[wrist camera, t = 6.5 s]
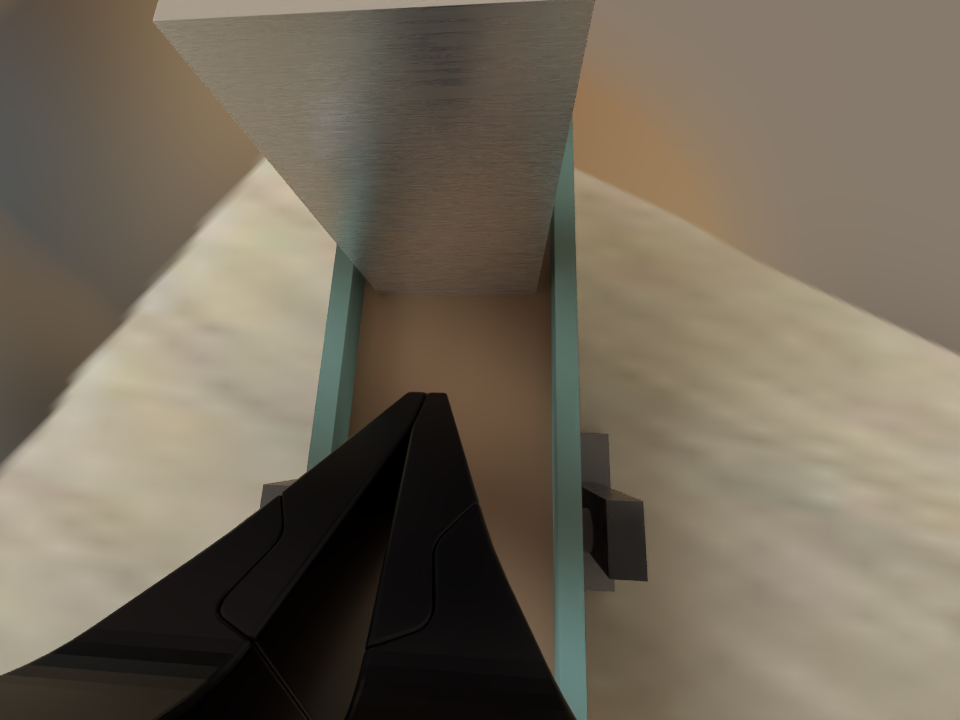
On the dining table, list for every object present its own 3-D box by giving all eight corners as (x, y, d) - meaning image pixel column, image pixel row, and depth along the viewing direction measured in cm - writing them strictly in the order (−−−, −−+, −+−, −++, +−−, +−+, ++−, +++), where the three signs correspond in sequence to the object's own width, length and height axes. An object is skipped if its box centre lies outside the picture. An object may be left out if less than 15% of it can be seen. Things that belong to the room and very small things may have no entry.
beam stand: (609, 584, 15) (673, 669, 9) (324, 566, 16) (222, 636, 10) (603, 434, 17) (656, 429, 11) (340, 425, 17) (258, 416, 12)
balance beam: (583, 998, 11) (642, 1407, 6) (301, 959, 11) (163, 1306, 7) (567, 201, 17) (590, 108, 12) (381, 203, 17) (336, 115, 13)
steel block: (535, 295, 12) (595, -2, 4) (379, 295, 12) (153, 21, 4) (534, 159, 13) (581, -282, 5) (392, 162, 13) (230, -246, 5)
